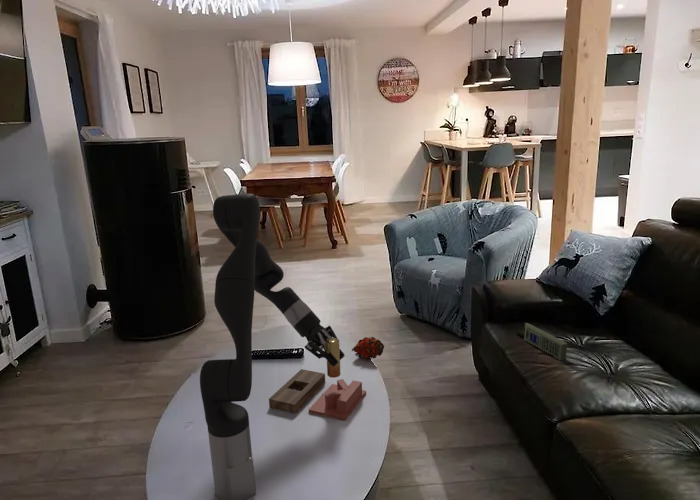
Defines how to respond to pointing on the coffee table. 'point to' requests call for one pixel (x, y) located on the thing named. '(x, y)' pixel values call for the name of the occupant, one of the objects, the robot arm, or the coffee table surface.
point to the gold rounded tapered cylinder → (335, 351)
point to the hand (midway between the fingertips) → (339, 360)
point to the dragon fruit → (369, 348)
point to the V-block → (339, 400)
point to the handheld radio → (544, 341)
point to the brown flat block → (293, 398)
